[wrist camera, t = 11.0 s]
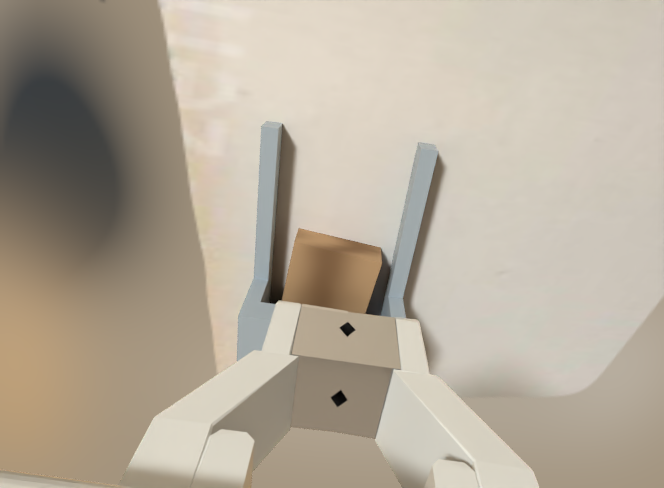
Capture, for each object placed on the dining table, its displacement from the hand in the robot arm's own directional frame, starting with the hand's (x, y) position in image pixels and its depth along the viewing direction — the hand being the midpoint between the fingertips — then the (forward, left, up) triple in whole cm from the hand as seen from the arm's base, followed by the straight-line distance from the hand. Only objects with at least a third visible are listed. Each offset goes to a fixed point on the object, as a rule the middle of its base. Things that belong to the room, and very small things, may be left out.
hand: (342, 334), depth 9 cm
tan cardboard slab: (0, +15, -25) cm, 29 cm away
